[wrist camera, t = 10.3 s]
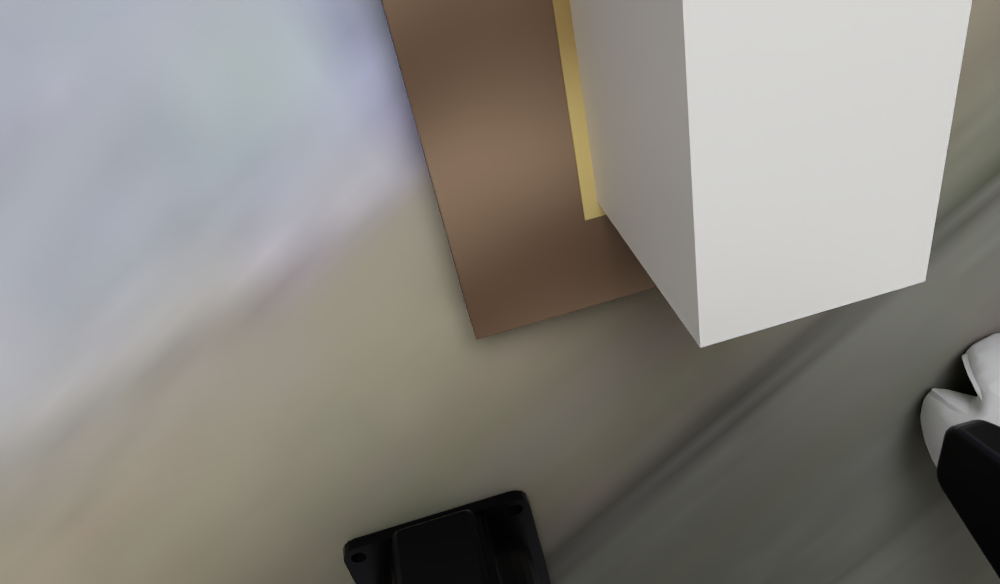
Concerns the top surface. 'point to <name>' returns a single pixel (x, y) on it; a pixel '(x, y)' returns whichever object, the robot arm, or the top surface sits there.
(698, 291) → the block
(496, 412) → the top surface
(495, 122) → the board
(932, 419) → the water bottle
